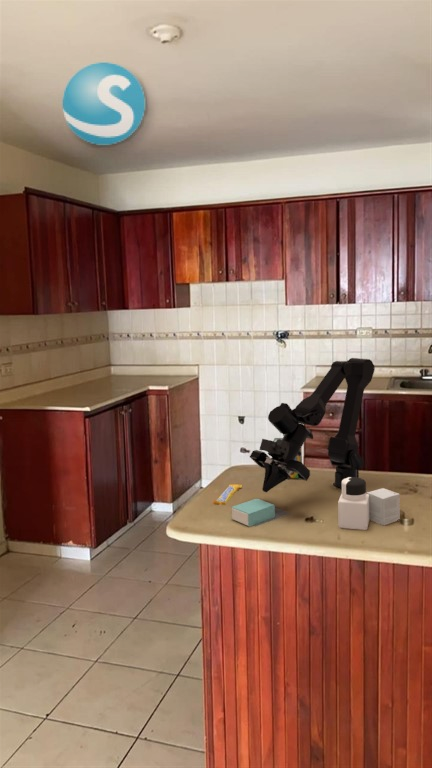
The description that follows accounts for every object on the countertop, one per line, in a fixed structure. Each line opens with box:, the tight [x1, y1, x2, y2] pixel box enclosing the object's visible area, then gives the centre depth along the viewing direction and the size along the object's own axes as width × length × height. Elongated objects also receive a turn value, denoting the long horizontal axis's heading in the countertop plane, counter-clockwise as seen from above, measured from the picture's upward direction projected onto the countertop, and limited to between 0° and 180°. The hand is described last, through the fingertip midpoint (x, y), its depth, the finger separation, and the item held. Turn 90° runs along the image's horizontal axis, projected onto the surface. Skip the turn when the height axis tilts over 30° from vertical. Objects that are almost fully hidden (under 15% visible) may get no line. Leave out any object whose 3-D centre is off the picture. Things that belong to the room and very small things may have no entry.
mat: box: [253, 506, 292, 527], centre depth 166 cm, size 13×9×1 cm
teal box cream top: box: [231, 498, 276, 528], centre depth 164 cm, size 4×7×9 cm
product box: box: [366, 487, 401, 526], centre depth 160 cm, size 6×6×7 cm
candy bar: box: [212, 483, 243, 505], centre depth 184 cm, size 17×4×2 cm, turn 161°
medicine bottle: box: [337, 477, 371, 531], centre depth 158 cm, size 7×7×12 cm
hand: (264, 491), depth 166 cm, fingers closed
